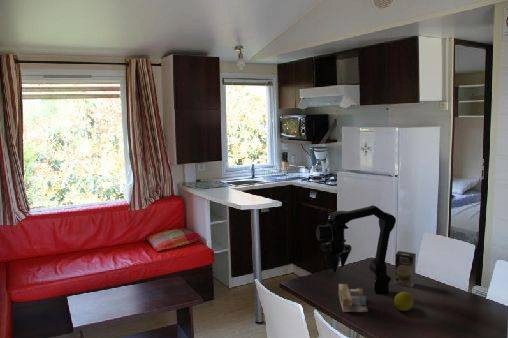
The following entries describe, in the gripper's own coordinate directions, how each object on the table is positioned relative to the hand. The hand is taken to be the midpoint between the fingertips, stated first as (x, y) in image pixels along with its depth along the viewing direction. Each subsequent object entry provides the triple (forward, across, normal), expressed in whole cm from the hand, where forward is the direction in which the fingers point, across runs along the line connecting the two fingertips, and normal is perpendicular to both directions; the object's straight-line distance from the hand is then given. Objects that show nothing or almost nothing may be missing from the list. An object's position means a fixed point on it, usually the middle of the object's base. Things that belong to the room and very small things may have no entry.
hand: (338, 269), depth 216 cm
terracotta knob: (+12, +1, +7) cm, 14 cm away
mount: (+13, +5, +9) cm, 17 cm away
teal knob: (+12, +8, +11) cm, 18 cm away
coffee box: (+14, -31, +23) cm, 41 cm away
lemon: (+14, 0, +31) cm, 34 cm away
